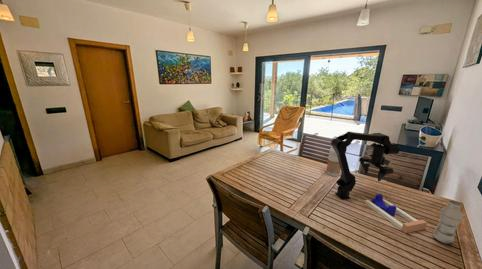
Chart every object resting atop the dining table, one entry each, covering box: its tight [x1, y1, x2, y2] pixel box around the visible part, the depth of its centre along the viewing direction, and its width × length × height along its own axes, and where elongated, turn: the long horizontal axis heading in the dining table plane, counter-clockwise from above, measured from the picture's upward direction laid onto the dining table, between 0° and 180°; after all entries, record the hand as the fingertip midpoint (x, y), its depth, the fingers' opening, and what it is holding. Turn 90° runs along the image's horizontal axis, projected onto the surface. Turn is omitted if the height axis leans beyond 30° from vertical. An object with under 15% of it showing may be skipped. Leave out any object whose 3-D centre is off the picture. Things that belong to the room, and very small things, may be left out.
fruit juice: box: [326, 146, 341, 177], centre depth 146 cm, size 9×9×28 cm
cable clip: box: [371, 193, 397, 217], centre depth 108 cm, size 12×4×6 cm, turn 179°
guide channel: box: [364, 198, 428, 234], centre depth 103 cm, size 12×24×4 cm, turn 12°
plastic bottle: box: [433, 200, 463, 245], centre depth 84 cm, size 6×7×20 cm
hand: (372, 177), depth 118 cm, fingers open, 9 cm apart
